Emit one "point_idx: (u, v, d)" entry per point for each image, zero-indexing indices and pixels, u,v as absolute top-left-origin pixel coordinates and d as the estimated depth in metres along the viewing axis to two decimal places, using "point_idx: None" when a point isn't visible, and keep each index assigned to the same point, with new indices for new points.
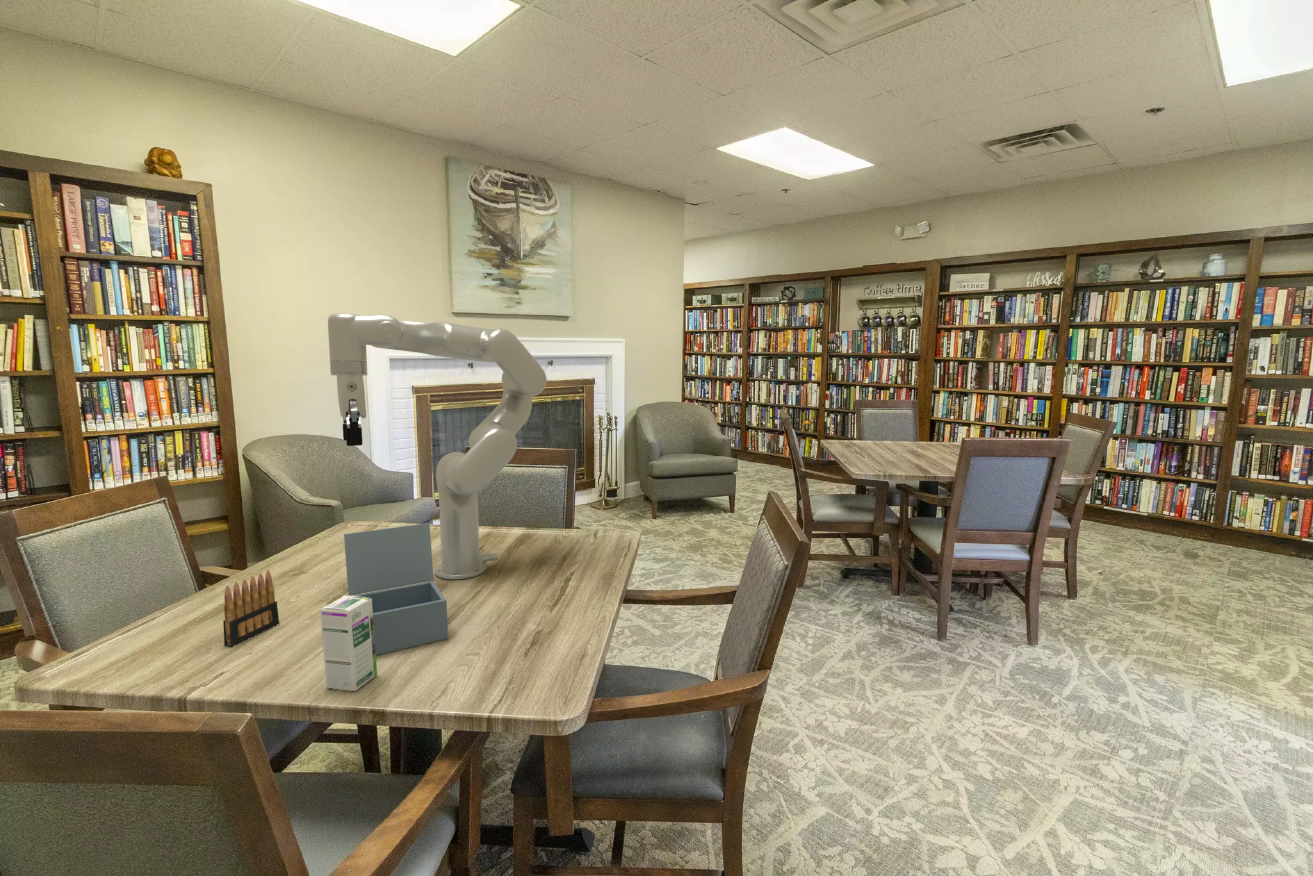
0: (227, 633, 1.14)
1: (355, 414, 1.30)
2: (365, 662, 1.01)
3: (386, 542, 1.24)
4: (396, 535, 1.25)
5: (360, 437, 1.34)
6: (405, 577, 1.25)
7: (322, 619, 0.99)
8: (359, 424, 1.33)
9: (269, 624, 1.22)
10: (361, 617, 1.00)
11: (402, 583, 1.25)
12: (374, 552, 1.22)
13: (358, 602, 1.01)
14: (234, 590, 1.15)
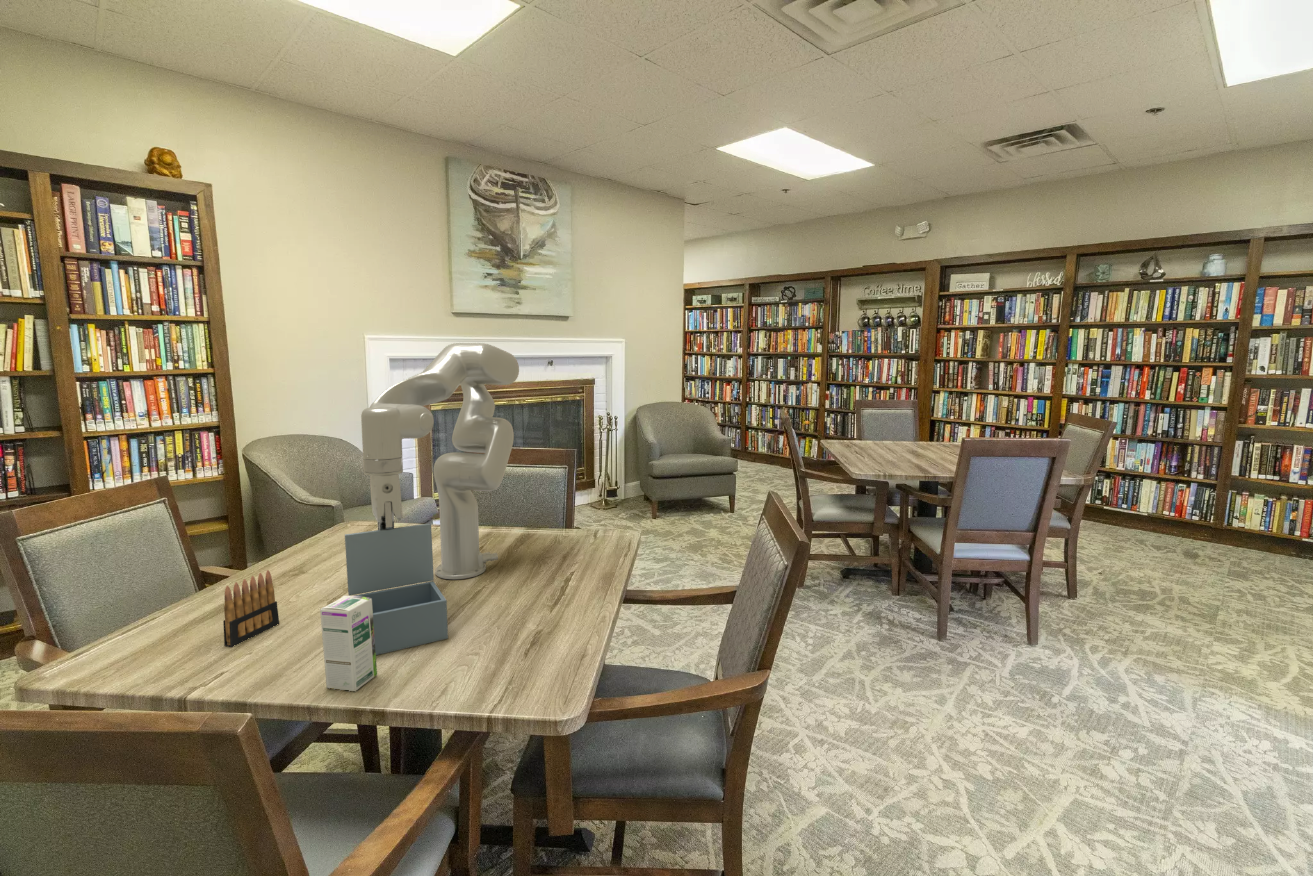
0: (227, 633, 1.14)
1: (390, 528, 1.22)
2: (365, 662, 1.01)
3: (387, 543, 1.23)
4: (397, 536, 1.24)
5: None
6: (405, 578, 1.25)
7: (322, 619, 0.99)
8: None
9: (269, 624, 1.22)
10: (361, 617, 1.00)
11: (402, 583, 1.25)
12: (375, 553, 1.21)
13: (358, 602, 1.01)
14: (234, 590, 1.15)
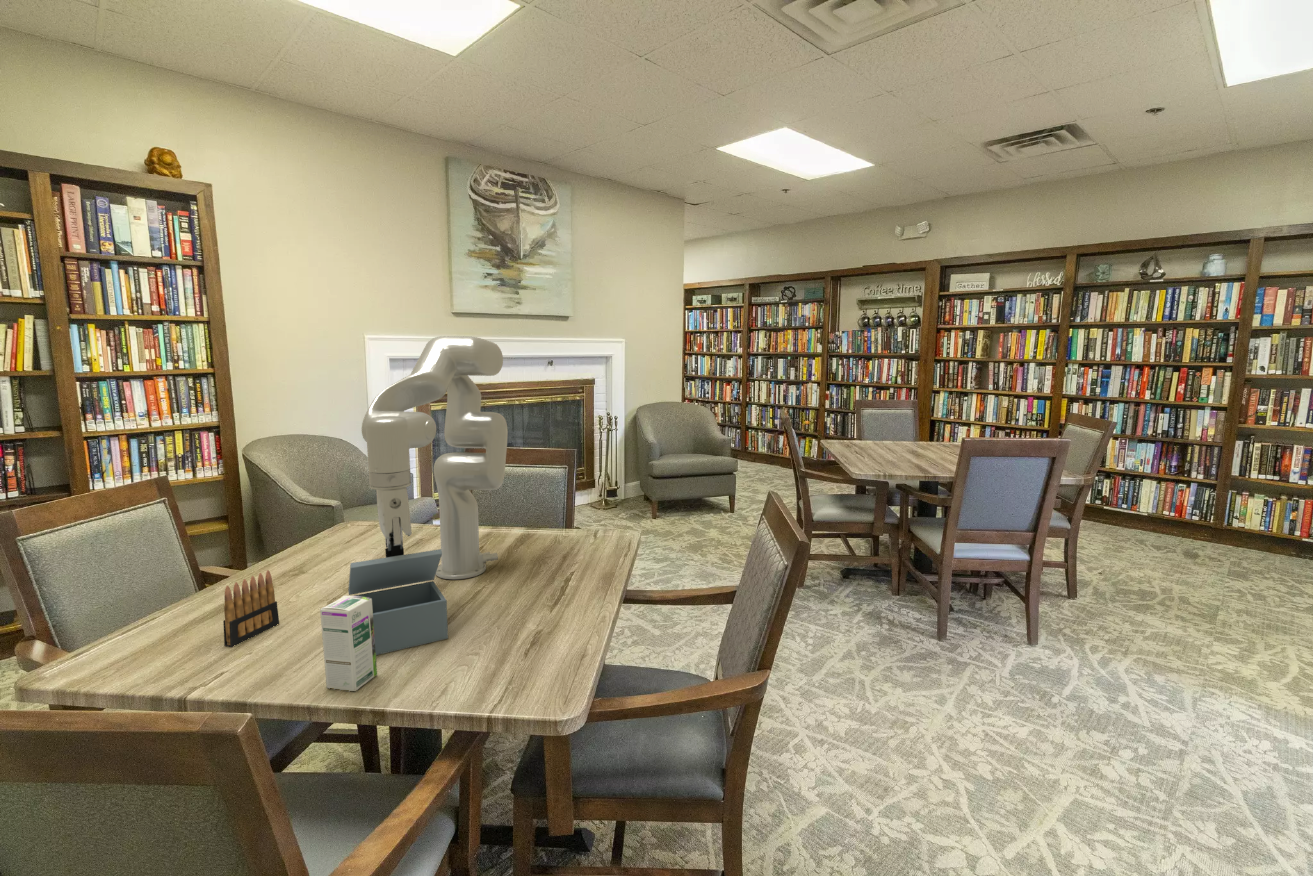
0: (227, 633, 1.14)
1: (398, 545, 1.16)
2: (365, 662, 1.01)
3: (393, 567, 1.17)
4: (405, 562, 1.17)
5: None
6: (407, 581, 1.24)
7: (322, 619, 0.99)
8: (401, 548, 1.19)
9: (269, 624, 1.22)
10: (361, 617, 1.00)
11: (402, 584, 1.24)
12: (380, 573, 1.17)
13: (358, 602, 1.01)
14: (234, 590, 1.15)
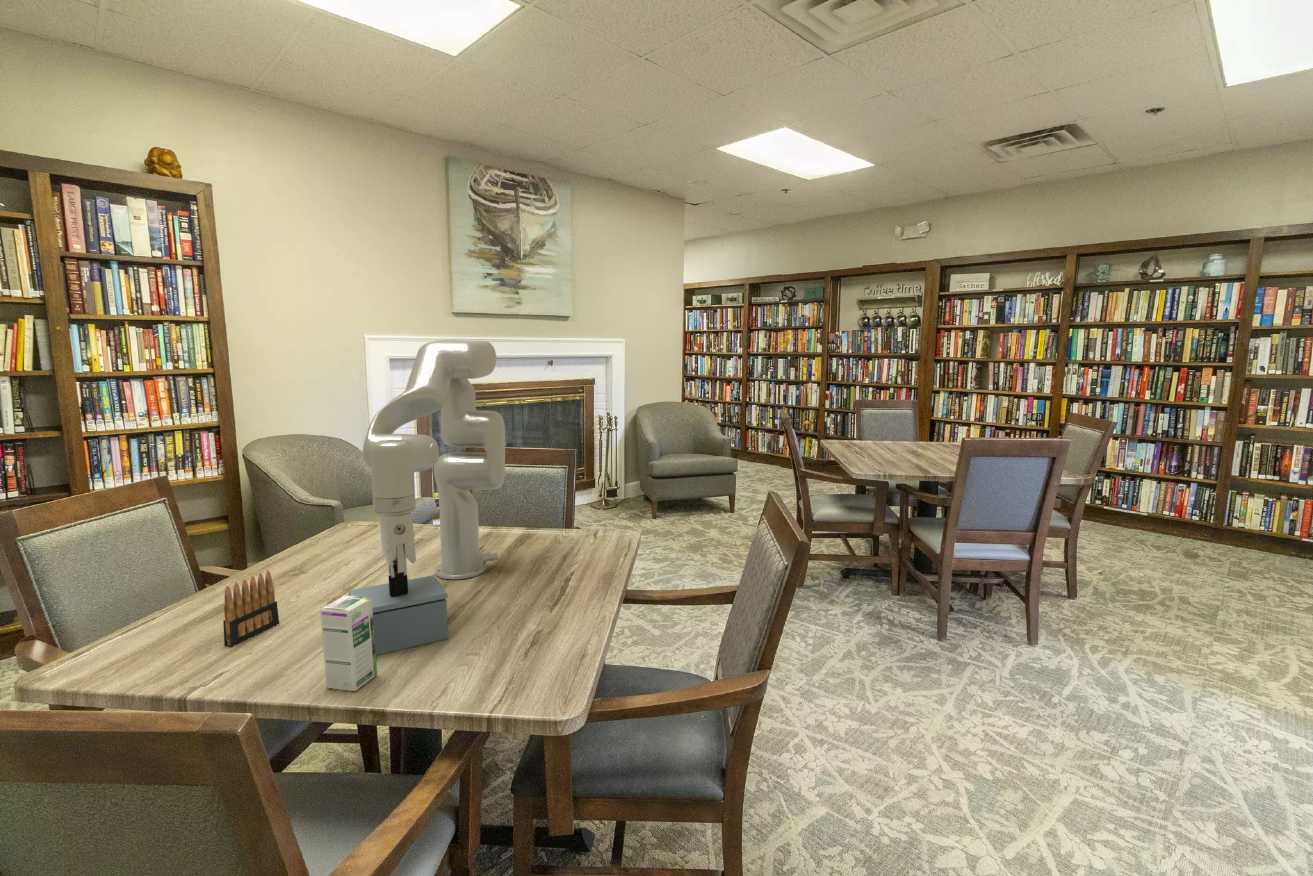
0: (227, 633, 1.14)
1: (402, 572, 1.12)
2: (365, 662, 1.01)
3: None
4: None
5: (405, 586, 1.17)
6: None
7: (322, 619, 0.99)
8: (405, 575, 1.15)
9: (269, 624, 1.22)
10: (361, 617, 1.00)
11: None
12: None
13: (358, 602, 1.01)
14: (234, 590, 1.15)
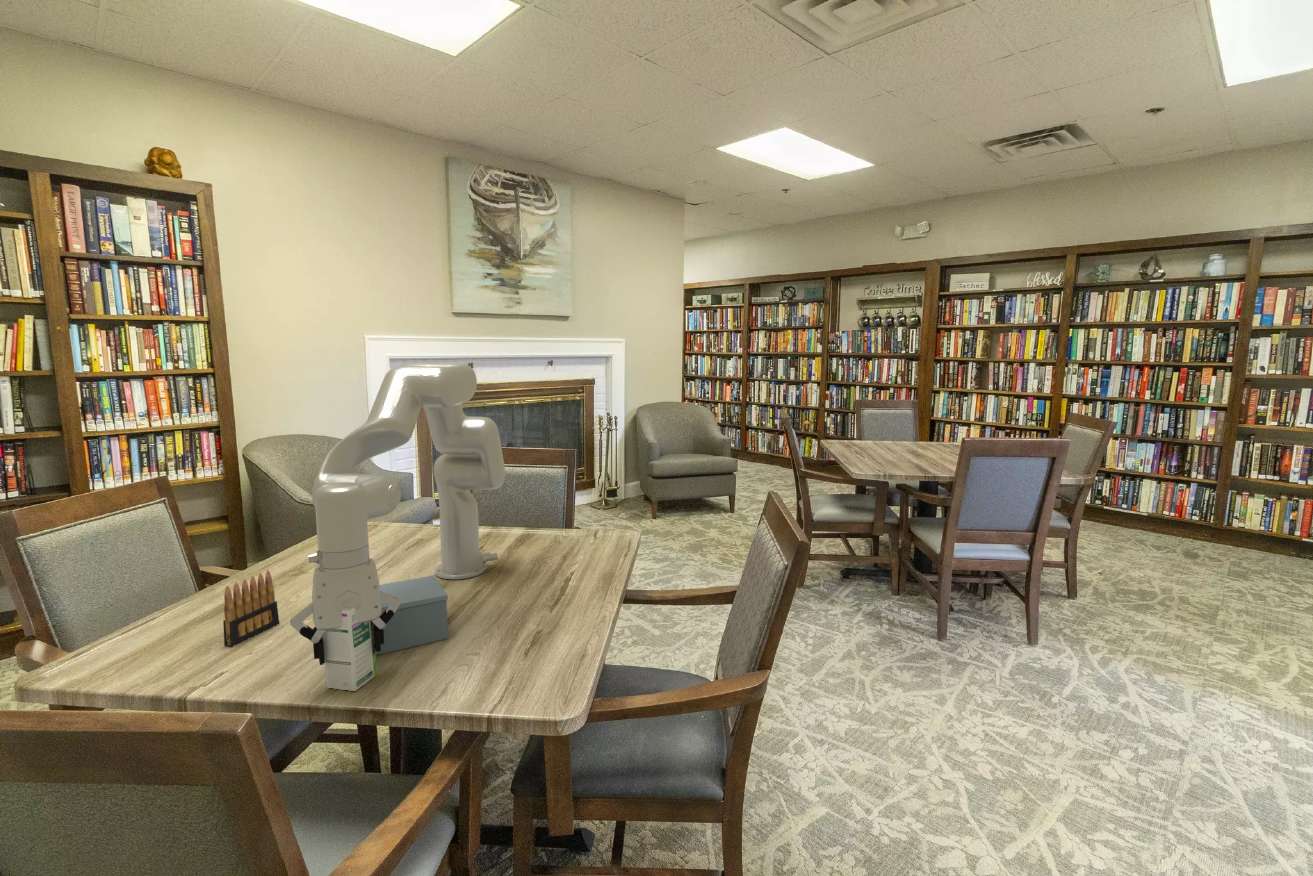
0: (227, 633, 1.14)
1: None
2: (365, 662, 1.01)
3: None
4: None
5: (319, 654, 0.98)
6: None
7: None
8: (311, 638, 0.97)
9: (269, 624, 1.22)
10: None
11: None
12: None
13: None
14: (234, 590, 1.15)
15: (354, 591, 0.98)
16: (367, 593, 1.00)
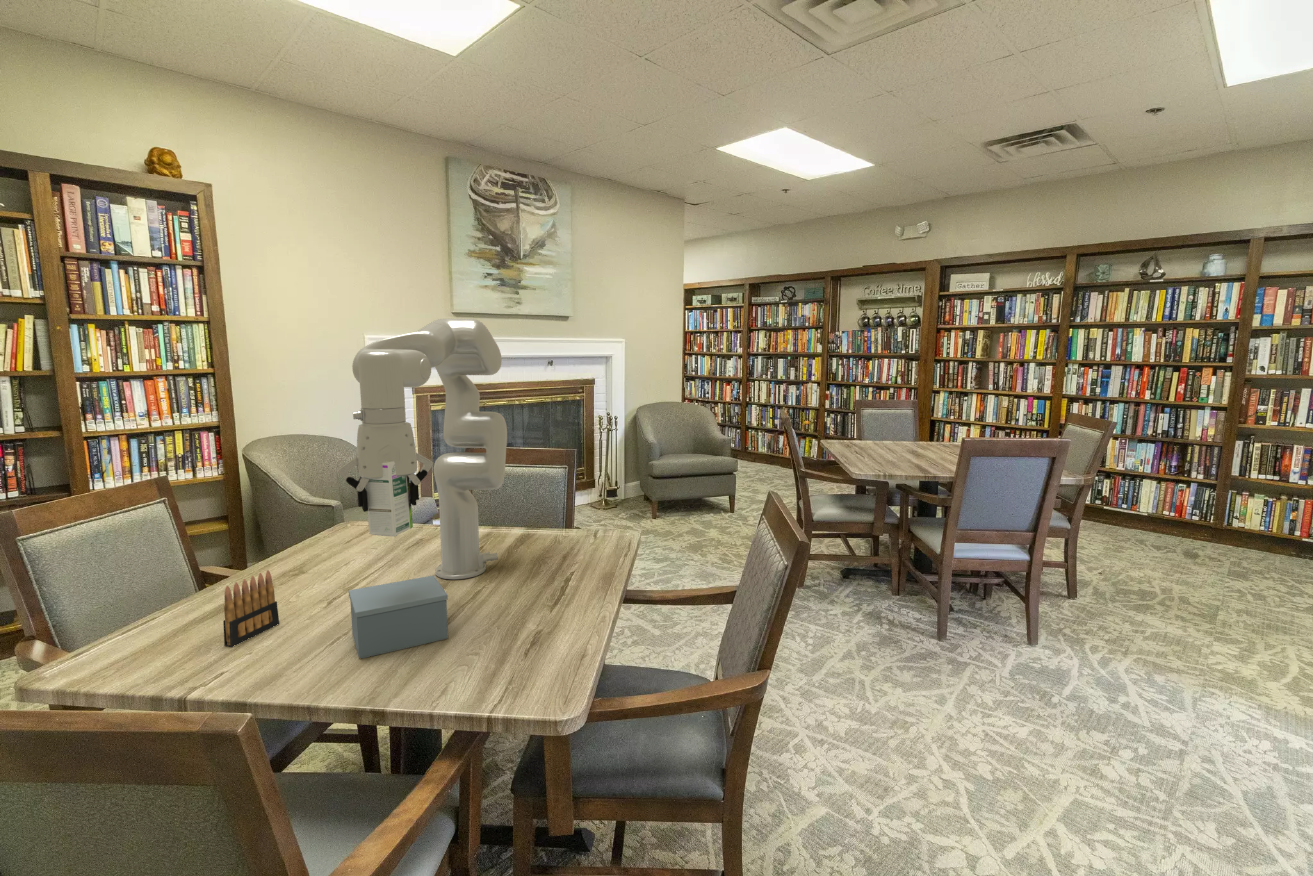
0: (227, 633, 1.14)
1: None
2: (403, 512, 1.14)
3: None
4: None
5: (363, 502, 1.11)
6: None
7: None
8: (356, 487, 1.10)
9: (269, 624, 1.22)
10: None
11: None
12: None
13: None
14: (234, 590, 1.15)
15: (393, 446, 1.11)
16: (404, 449, 1.12)
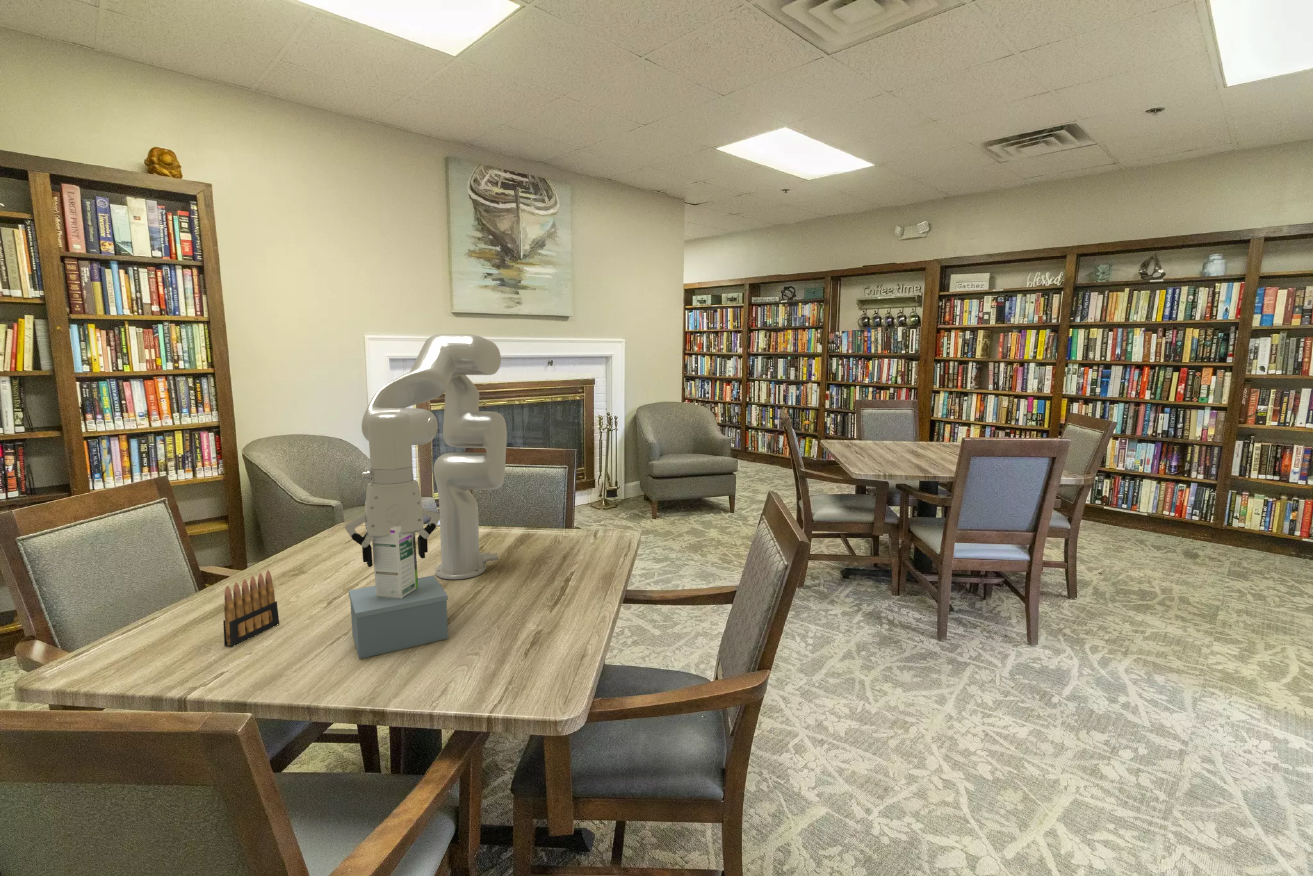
0: (227, 633, 1.14)
1: None
2: (409, 574, 1.17)
3: None
4: None
5: (368, 558, 1.14)
6: None
7: None
8: (361, 543, 1.13)
9: (269, 624, 1.22)
10: (406, 535, 1.16)
11: None
12: None
13: None
14: (234, 590, 1.15)
15: (401, 505, 1.14)
16: (412, 507, 1.15)
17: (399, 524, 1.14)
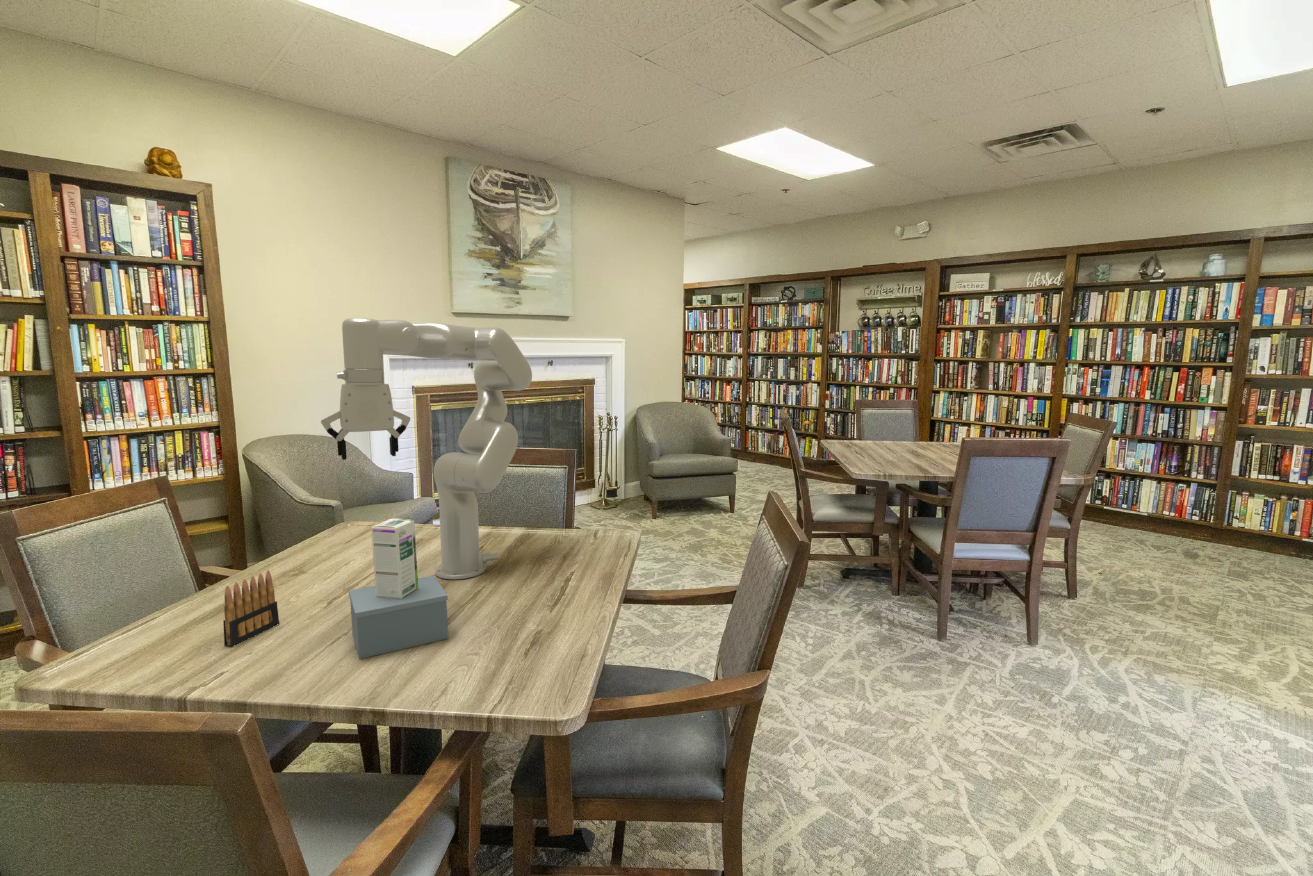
0: (227, 633, 1.14)
1: None
2: (409, 574, 1.17)
3: None
4: None
5: (342, 451, 1.24)
6: None
7: (373, 535, 1.14)
8: (336, 437, 1.23)
9: (269, 624, 1.22)
10: (406, 535, 1.16)
11: None
12: None
13: (403, 522, 1.17)
14: (234, 590, 1.15)
15: (373, 403, 1.25)
16: (383, 406, 1.26)
17: (371, 421, 1.25)
